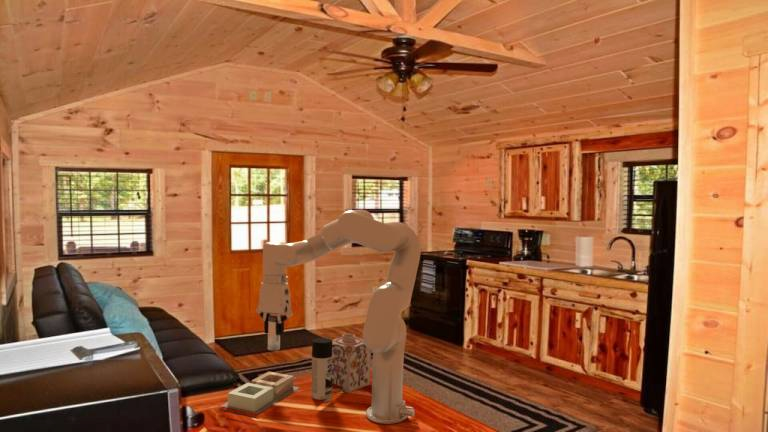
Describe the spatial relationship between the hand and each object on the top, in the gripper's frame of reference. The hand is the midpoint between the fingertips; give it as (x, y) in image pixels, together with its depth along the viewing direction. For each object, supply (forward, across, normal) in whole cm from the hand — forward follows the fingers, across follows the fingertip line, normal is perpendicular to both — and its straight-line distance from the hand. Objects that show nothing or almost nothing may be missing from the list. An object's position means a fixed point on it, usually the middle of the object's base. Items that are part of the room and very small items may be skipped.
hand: (273, 332), depth 180 cm
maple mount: (+19, 0, 0) cm, 19 cm away
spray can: (+21, -17, -3) cm, 27 cm away
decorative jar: (+21, -19, -19) cm, 34 cm away
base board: (+21, 0, +6) cm, 22 cm away
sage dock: (+19, 0, +12) cm, 23 cm away
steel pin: (+5, 0, 0) cm, 5 cm away
